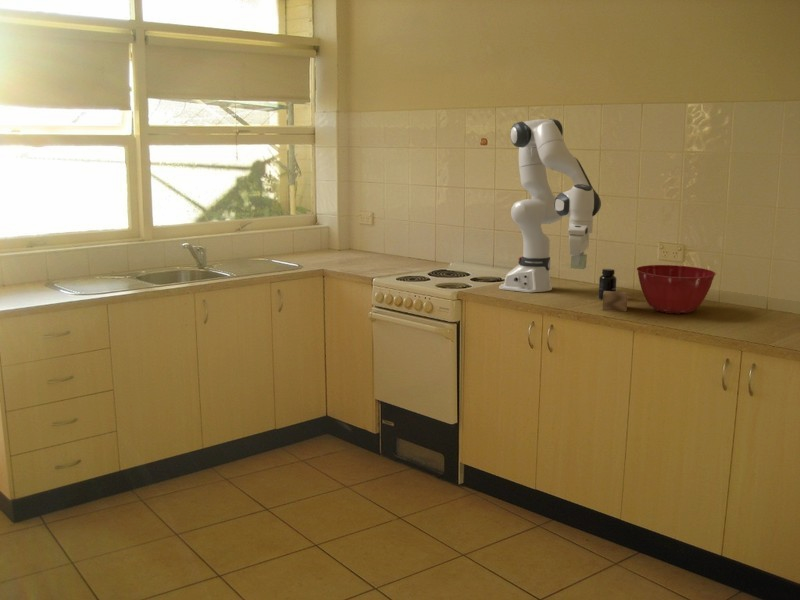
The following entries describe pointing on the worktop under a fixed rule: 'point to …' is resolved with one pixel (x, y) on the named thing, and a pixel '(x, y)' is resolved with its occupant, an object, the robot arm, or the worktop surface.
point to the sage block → (582, 262)
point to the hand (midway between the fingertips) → (578, 263)
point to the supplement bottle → (607, 282)
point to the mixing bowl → (674, 287)
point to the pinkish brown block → (615, 300)
